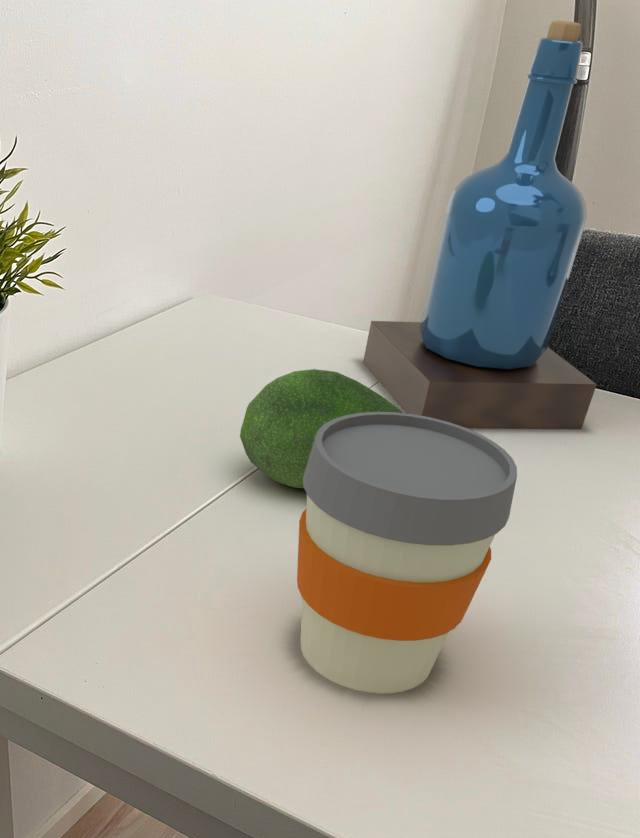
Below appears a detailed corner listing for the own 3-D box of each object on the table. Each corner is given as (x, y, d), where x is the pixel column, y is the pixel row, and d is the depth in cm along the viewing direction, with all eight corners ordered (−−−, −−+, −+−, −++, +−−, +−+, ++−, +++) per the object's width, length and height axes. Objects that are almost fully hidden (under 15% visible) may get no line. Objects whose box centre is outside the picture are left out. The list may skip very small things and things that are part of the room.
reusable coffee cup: (242, 619, 70) (272, 420, 62) (388, 590, 75) (436, 402, 66) (336, 730, 61) (387, 515, 53) (496, 690, 66) (568, 486, 57)
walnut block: (506, 366, 118) (518, 324, 115) (581, 430, 104) (597, 384, 101) (362, 363, 115) (371, 320, 112) (418, 429, 101) (430, 381, 98)
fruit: (401, 472, 92) (427, 367, 86) (406, 523, 84) (434, 411, 78) (240, 449, 93) (254, 345, 88) (229, 497, 85) (244, 385, 80)
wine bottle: (542, 383, 100) (651, 34, 82) (409, 359, 103) (487, 17, 85) (542, 341, 111) (639, 25, 93) (422, 321, 113) (494, 10, 96)
